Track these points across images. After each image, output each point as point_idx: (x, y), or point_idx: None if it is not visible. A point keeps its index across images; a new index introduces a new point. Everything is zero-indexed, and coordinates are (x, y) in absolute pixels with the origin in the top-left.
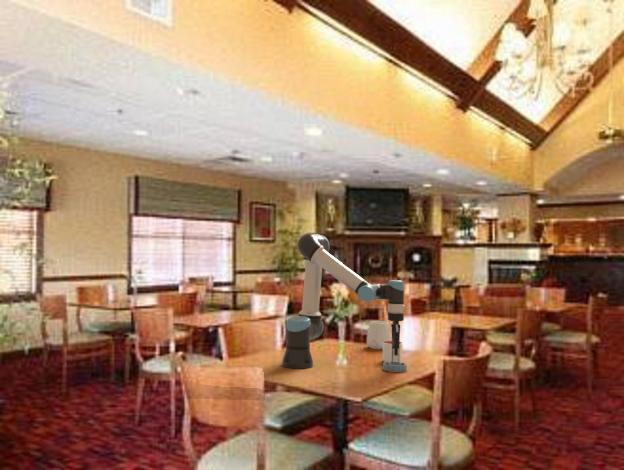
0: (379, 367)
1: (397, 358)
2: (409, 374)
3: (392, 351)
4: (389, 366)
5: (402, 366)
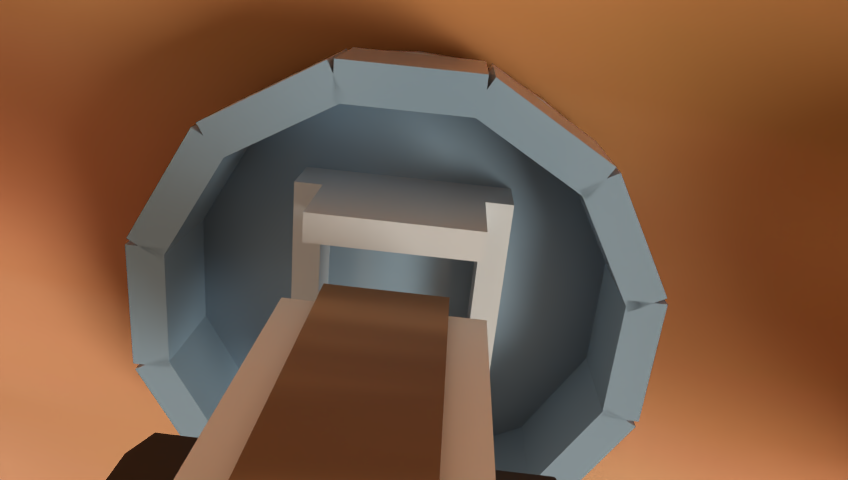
0: (641, 3)
1: None
2: (47, 423)
3: (238, 470)
4: (176, 163)
5: (179, 423)
